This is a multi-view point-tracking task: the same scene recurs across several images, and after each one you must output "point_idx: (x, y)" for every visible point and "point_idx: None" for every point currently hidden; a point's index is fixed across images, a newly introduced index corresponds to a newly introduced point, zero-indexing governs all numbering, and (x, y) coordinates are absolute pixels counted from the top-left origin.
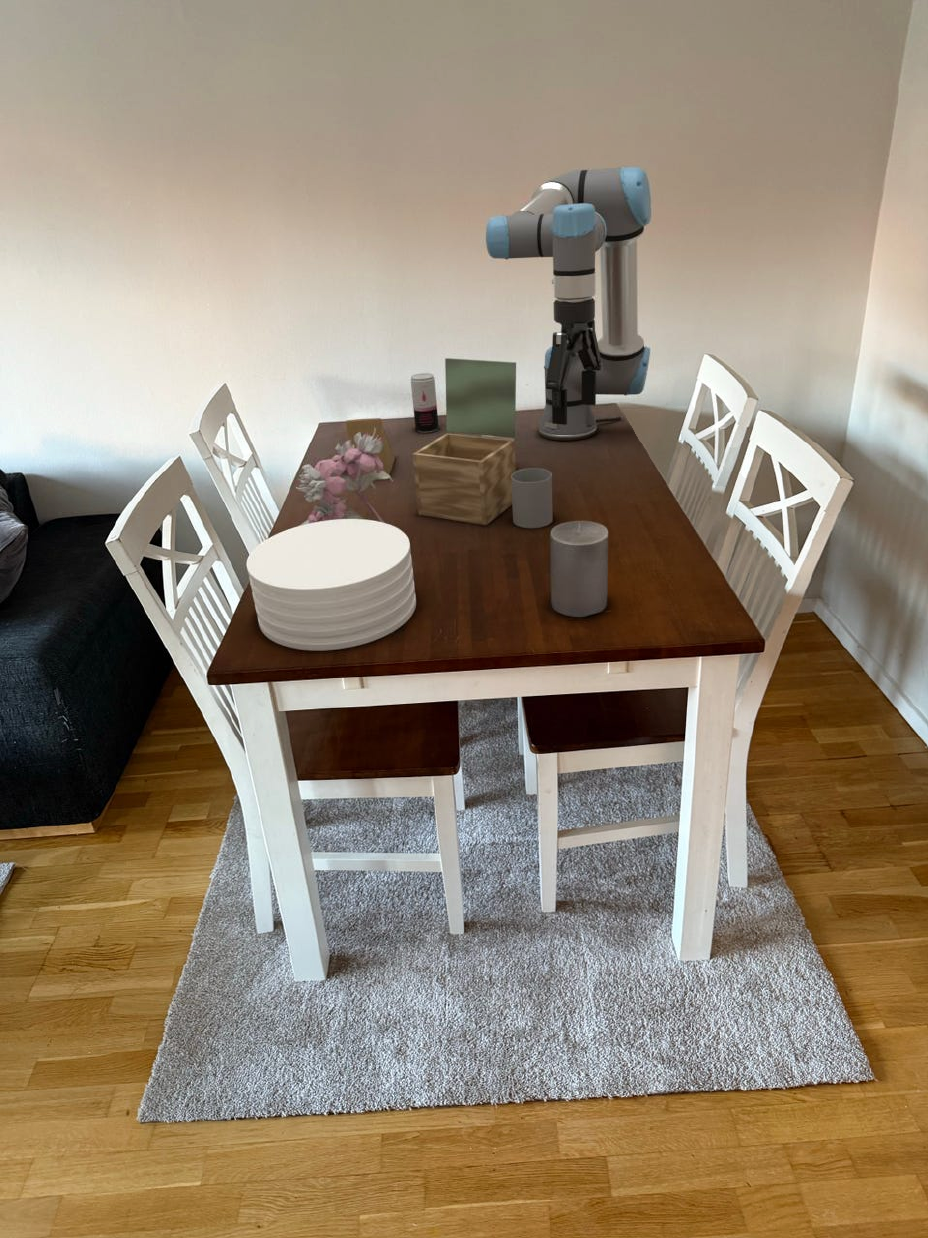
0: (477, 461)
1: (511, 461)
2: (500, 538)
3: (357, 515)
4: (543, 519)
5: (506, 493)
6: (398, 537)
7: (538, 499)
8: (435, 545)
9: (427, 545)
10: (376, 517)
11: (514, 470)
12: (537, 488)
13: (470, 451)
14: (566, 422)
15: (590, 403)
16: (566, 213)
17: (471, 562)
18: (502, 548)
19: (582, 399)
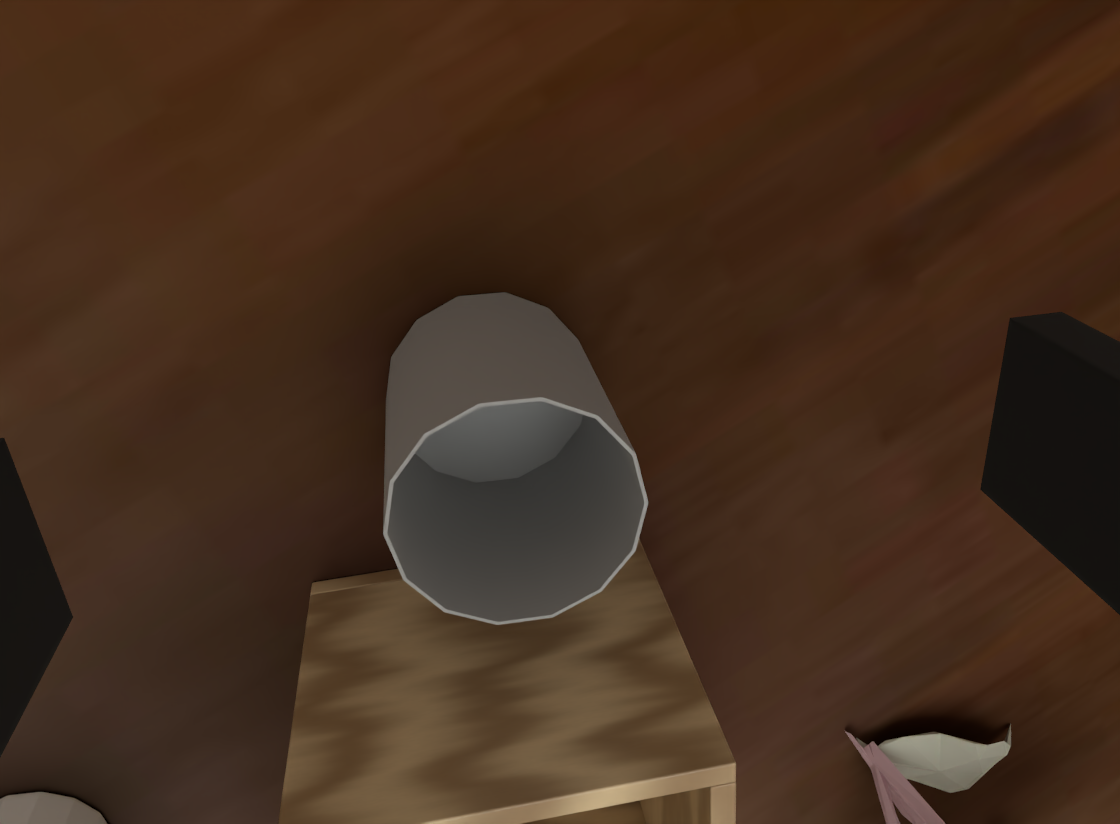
0: (730, 789)
1: (344, 737)
2: (734, 400)
3: None
4: (539, 314)
5: (423, 612)
6: None
7: (583, 374)
8: (880, 572)
9: (889, 595)
10: (938, 821)
11: (312, 694)
12: (600, 406)
13: None
14: (1046, 322)
15: (16, 509)
16: None
17: (987, 366)
18: (826, 333)
19: (41, 657)
